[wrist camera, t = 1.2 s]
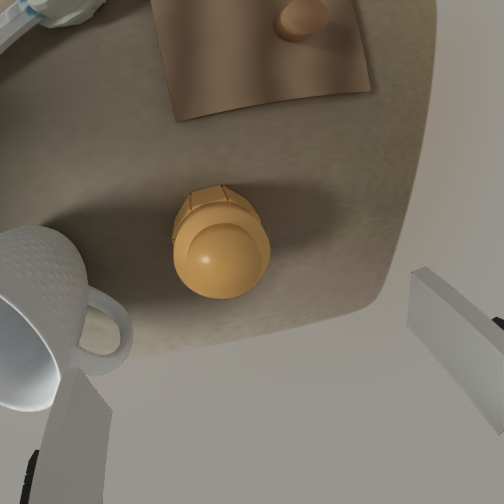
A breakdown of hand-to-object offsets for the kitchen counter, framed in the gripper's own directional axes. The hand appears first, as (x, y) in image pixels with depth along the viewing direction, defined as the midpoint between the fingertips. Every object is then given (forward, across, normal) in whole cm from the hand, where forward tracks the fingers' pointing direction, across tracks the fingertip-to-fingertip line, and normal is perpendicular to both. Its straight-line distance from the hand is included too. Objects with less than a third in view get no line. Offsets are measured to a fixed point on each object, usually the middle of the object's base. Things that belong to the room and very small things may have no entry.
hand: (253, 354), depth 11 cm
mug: (+17, -15, 0) cm, 23 cm away
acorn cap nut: (+17, 0, -1) cm, 17 cm away
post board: (+17, +7, +17) cm, 25 cm away
